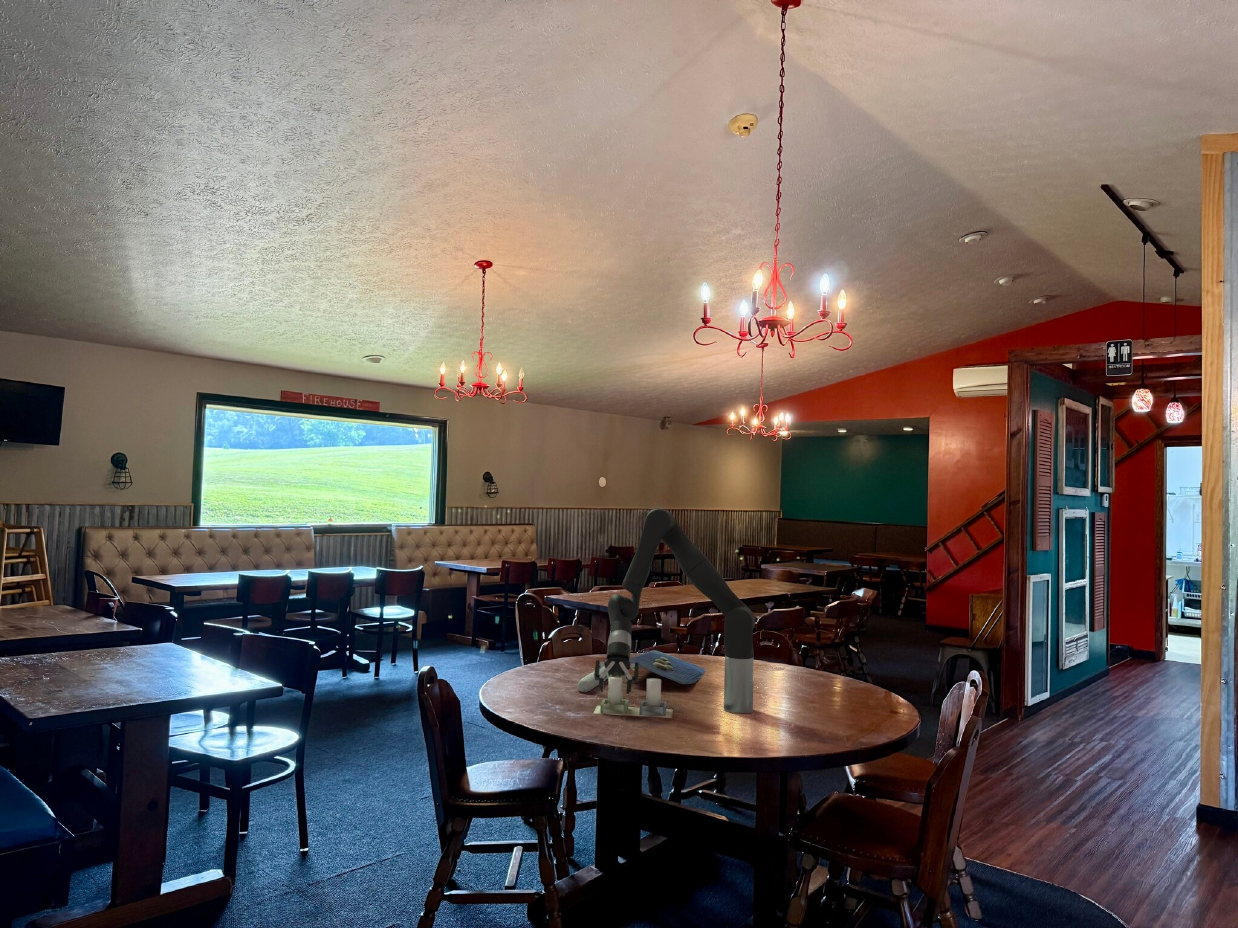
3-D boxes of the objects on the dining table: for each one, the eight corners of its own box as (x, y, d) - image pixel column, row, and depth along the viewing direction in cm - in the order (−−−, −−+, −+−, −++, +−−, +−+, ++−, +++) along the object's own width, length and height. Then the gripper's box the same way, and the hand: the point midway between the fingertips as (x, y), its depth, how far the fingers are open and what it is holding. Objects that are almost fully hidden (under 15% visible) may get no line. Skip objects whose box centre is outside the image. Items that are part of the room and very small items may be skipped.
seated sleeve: (660, 710, 253) (661, 678, 253) (660, 714, 248) (661, 681, 249) (645, 710, 253) (646, 677, 254) (645, 713, 248) (646, 680, 249)
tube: (591, 682, 279) (613, 668, 303) (578, 676, 281) (600, 663, 305) (586, 697, 280) (608, 682, 304) (573, 690, 281) (595, 676, 305)
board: (672, 714, 255) (672, 701, 255) (671, 722, 245) (672, 709, 245) (597, 710, 257) (597, 697, 257) (593, 718, 247) (593, 704, 247)
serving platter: (640, 669, 337) (649, 643, 337) (702, 694, 329) (711, 667, 329) (611, 684, 294) (620, 654, 294) (681, 713, 286) (691, 682, 286)
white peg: (622, 708, 254) (623, 676, 254) (621, 712, 249) (622, 679, 250) (608, 707, 254) (609, 675, 255) (606, 711, 250) (607, 678, 250)
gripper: (596, 639, 261) (591, 683, 249) (640, 641, 259) (637, 686, 247) (597, 653, 266) (592, 697, 254) (641, 655, 264) (637, 699, 252)
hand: (614, 691), depth 250 cm, fingers open, 7 cm apart
